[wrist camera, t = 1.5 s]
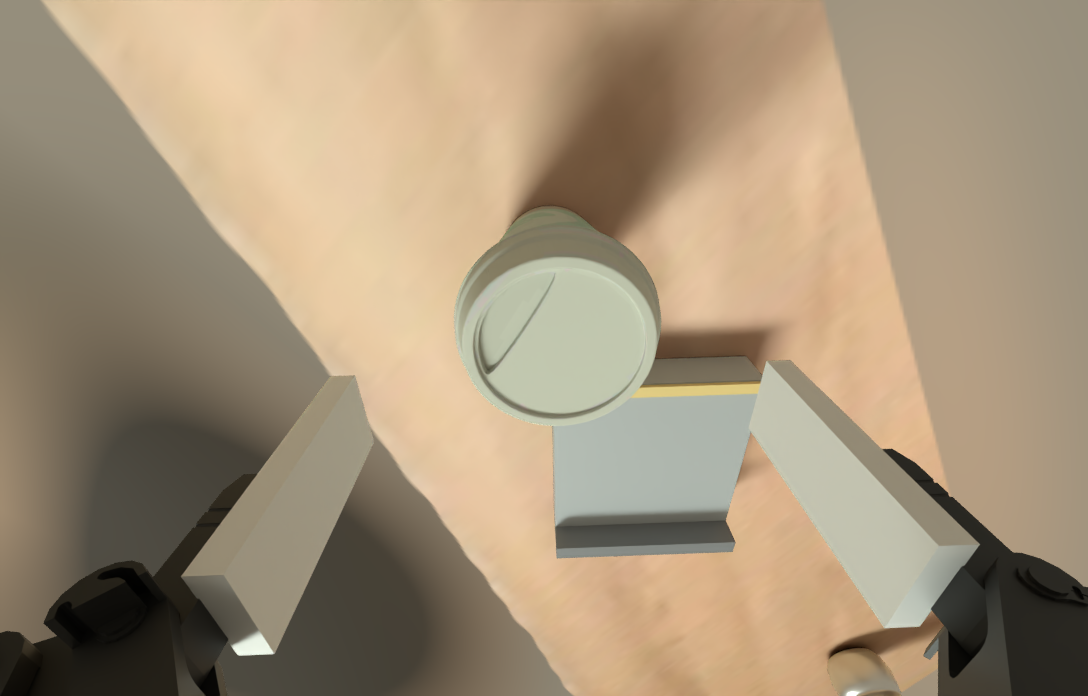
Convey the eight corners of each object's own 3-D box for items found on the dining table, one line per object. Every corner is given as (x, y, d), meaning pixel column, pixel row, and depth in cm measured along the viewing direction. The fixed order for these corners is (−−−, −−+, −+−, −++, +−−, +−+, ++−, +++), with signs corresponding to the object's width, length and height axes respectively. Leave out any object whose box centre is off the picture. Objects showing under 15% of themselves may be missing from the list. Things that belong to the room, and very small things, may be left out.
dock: (551, 362, 31) (554, 405, 26) (746, 356, 31) (780, 398, 26) (554, 506, 38) (556, 558, 34) (709, 500, 38) (732, 551, 34)
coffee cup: (585, 153, 24) (626, 193, 13) (636, 282, 28) (699, 392, 17) (453, 221, 25) (399, 304, 15) (519, 334, 29) (512, 461, 19)
